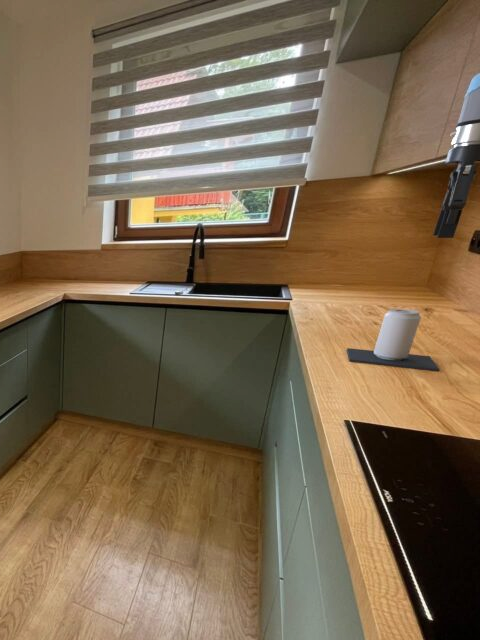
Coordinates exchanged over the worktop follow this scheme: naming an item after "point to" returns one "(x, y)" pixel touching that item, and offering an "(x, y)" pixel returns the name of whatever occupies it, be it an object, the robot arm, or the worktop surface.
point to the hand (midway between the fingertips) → (442, 236)
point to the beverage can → (397, 334)
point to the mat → (408, 362)
